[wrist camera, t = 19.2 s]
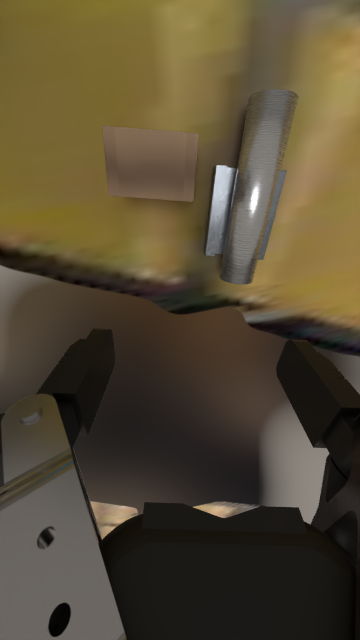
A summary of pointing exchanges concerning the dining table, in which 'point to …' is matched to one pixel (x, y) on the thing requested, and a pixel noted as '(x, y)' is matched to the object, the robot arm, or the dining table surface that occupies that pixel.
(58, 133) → the dining table surface
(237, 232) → the axle
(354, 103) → the dining table surface
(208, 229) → the v block
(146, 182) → the brown block
